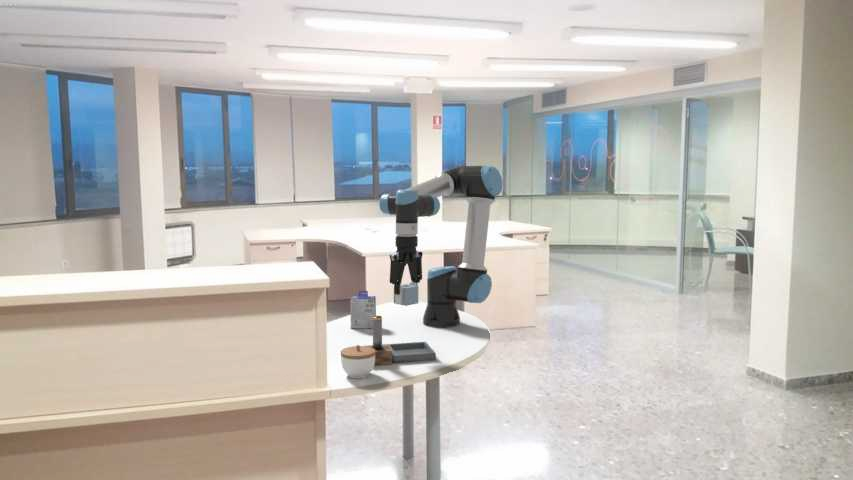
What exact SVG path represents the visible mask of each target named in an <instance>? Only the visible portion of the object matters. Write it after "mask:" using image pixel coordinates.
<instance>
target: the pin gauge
mask: <svg viewBox="0 0 853 480" xmlns="http://www.w3.org/2000/svg"><path fill="white" fill-rule="evenodd" d="M372 318H373V328H372V345H373V348H374V349H375V350H382V345H383V316H382V315H376V316H373V317H372Z"/></svg>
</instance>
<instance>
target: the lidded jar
mask: <svg viewBox="0 0 853 480" xmlns="http://www.w3.org/2000/svg"><path fill="white" fill-rule="evenodd" d="M367 346H368V345H359V344H358V345H357V344H356V345H355V346H354V345H353V346H348V347H345V348H343V349H341V350H340V358H341V359H340V360H341V367H342V369H343V371H344V372H345V374H346V375H348V377H349V378H352V379H364V378H367V377H368V376H369V374H370V373H371V372H372V371H373V369H374V368H375V366H374V364H375V354H376V350H375V349H374V348H371V347H367Z"/></svg>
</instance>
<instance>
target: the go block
mask: <svg viewBox="0 0 853 480" xmlns="http://www.w3.org/2000/svg"><path fill="white" fill-rule="evenodd" d="M387 344H388V343H386V344H383V343H382V350H376V354H375V364H374V367H375V366H376V367H377V366H386V365H393V363H392V362H393V361H392V351H391V349H390V348H389V346H388V345H387ZM366 346H367V347H371V348H373V344H371V345H366Z"/></svg>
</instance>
